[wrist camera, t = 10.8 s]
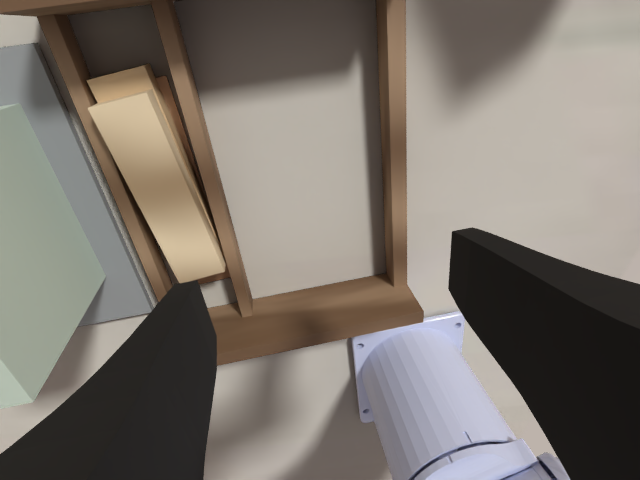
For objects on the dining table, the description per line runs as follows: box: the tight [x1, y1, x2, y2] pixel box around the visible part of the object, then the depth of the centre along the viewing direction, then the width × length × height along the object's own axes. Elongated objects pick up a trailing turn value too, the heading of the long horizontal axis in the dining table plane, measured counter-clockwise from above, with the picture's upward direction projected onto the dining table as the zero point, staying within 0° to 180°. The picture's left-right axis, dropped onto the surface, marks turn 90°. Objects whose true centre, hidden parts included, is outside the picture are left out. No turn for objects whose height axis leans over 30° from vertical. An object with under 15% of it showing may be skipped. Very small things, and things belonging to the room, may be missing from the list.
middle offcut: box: [86, 63, 226, 260], centre depth 18 cm, size 10×2×1 cm, turn 13°
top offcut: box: [88, 89, 226, 283], centre depth 18 cm, size 9×2×1 cm, turn 13°
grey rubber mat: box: [0, 43, 154, 327], centre depth 18 cm, size 14×6×1 cm, turn 7°
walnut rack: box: [0, 0, 424, 366], centre depth 18 cm, size 17×14×4 cm
